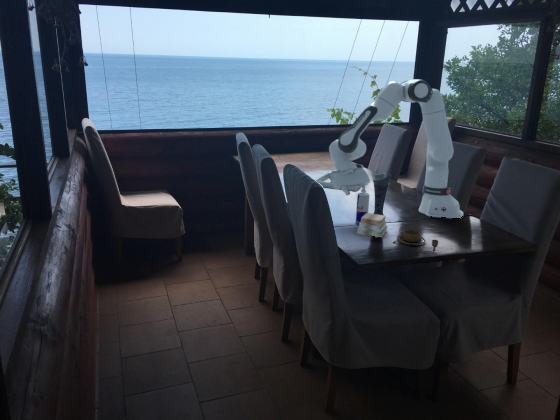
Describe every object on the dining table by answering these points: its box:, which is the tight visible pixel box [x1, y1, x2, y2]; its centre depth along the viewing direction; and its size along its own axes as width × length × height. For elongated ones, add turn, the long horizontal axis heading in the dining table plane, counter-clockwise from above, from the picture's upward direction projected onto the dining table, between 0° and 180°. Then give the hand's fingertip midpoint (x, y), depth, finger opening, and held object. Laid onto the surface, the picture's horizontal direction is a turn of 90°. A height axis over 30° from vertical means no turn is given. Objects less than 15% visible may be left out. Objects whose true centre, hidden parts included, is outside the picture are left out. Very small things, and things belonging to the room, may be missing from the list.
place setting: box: [396, 229, 439, 252], centre depth 210 cm, size 18×20×6 cm
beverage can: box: [355, 192, 370, 225], centre depth 235 cm, size 6×6×15 cm
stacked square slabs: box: [356, 212, 388, 238], centre depth 224 cm, size 11×11×8 cm
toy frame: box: [315, 171, 362, 192], centre depth 313 cm, size 28×28×3 cm
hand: (356, 193), depth 238 cm, fingers open, 8 cm apart
